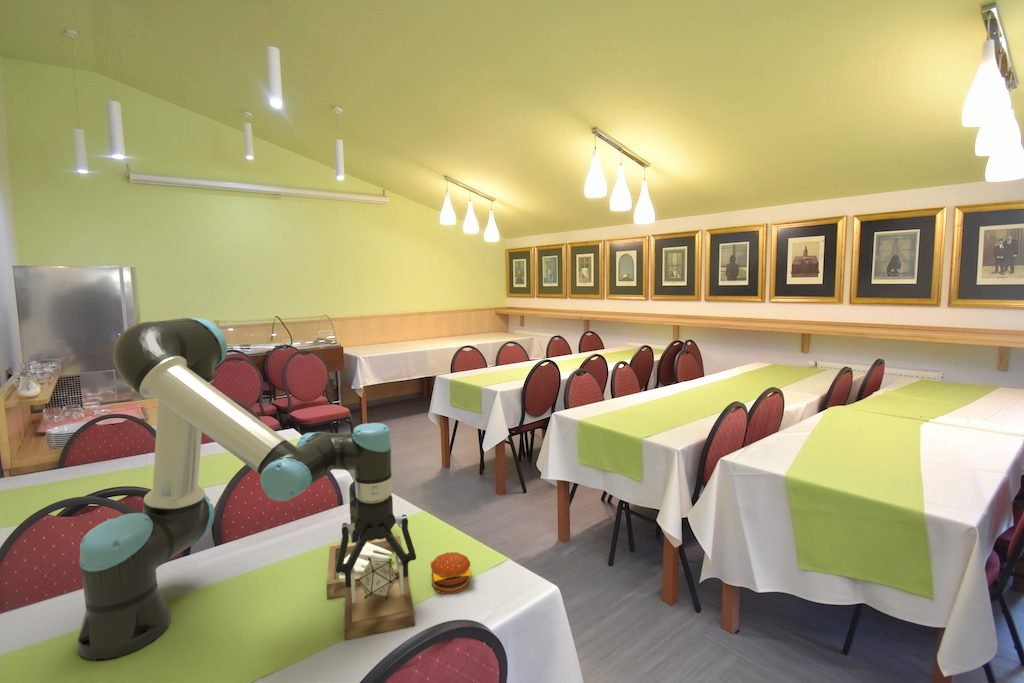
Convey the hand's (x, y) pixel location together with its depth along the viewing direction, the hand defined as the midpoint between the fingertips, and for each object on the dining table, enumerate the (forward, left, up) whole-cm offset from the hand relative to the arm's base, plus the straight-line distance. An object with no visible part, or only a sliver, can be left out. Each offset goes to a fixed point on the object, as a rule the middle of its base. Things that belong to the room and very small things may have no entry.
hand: (377, 594), depth 110 cm
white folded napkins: (-2, +17, -4) cm, 18 cm away
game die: (0, 0, 0) cm, 1 cm away
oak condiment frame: (-2, +17, -4) cm, 18 cm away
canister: (-1, +33, -4) cm, 33 cm away
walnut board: (0, 0, -4) cm, 4 cm away
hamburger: (+17, +6, -4) cm, 19 cm away
